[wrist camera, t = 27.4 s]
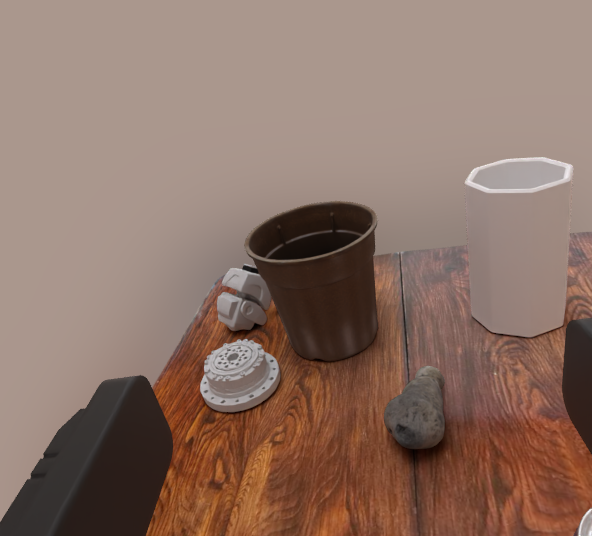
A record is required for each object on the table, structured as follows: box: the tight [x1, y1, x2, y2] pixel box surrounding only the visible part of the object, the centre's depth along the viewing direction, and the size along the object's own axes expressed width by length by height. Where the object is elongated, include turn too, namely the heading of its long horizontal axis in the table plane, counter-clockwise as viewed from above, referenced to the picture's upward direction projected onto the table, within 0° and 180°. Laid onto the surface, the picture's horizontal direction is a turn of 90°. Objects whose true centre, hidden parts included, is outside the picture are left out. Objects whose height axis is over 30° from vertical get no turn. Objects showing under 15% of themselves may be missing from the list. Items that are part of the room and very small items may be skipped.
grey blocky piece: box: [217, 264, 271, 331], centre depth 71 cm, size 6×7×10 cm
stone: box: [384, 366, 445, 449], centre depth 48 cm, size 10×6×8 cm
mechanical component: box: [200, 339, 281, 412], centre depth 59 cm, size 10×4×10 cm
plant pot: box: [244, 201, 378, 361], centre depth 61 cm, size 16×16×16 cm
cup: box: [465, 157, 573, 337], centre depth 57 cm, size 11×11×18 cm
